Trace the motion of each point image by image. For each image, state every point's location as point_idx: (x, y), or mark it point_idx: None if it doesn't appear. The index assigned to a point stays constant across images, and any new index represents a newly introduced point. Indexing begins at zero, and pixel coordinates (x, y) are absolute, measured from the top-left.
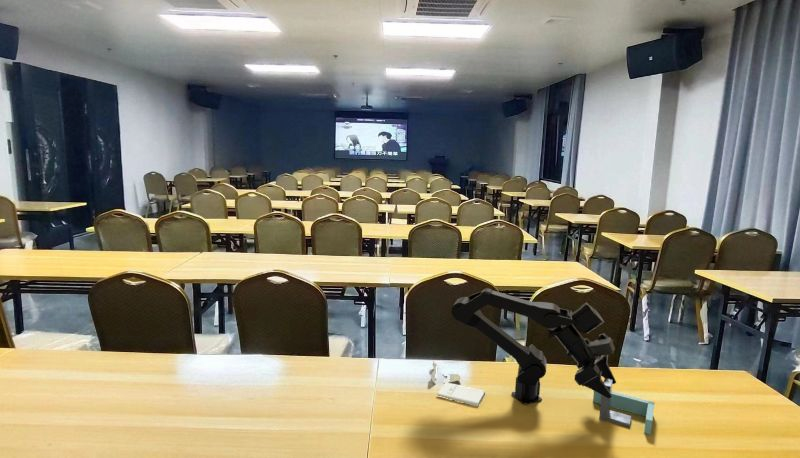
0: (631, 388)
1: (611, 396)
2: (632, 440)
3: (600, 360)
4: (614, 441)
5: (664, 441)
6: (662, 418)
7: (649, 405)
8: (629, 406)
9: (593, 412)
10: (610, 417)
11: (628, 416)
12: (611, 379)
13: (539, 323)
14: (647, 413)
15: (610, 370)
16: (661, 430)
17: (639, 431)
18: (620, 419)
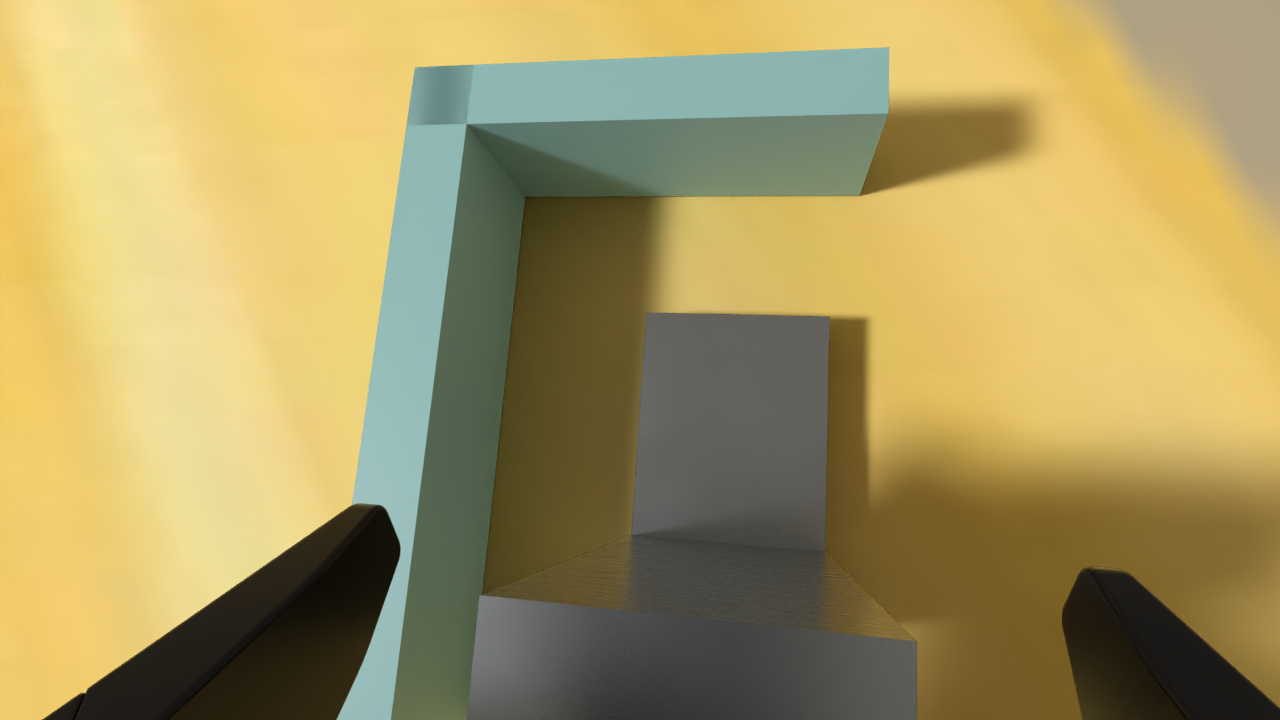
0: (45, 352)
1: (1126, 574)
2: (1079, 283)
3: None
4: (1234, 449)
5: (904, 34)
6: None
7: (515, 106)
8: (487, 335)
9: None
10: (801, 517)
11: (670, 338)
12: (344, 605)
13: None
14: (729, 108)
15: (109, 695)
16: None
17: (849, 235)
18: (786, 411)
